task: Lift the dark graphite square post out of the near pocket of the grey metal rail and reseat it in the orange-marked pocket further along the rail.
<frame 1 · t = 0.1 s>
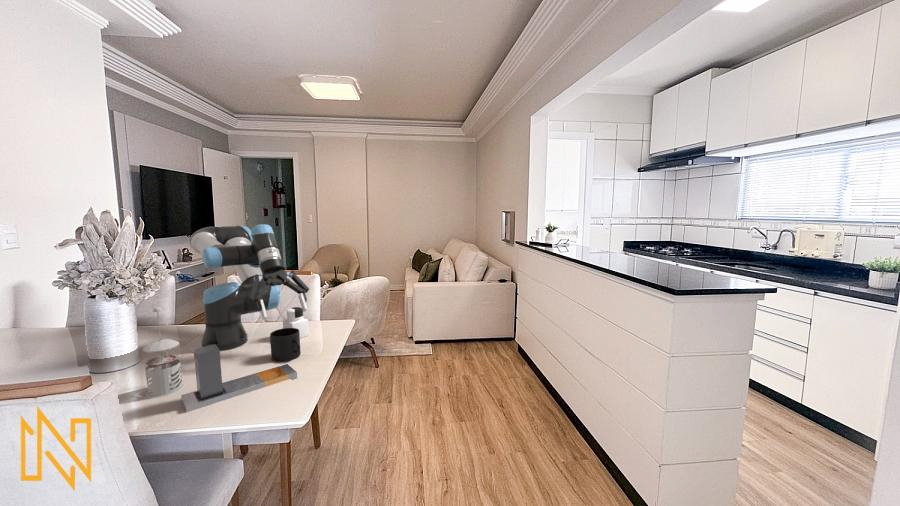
hand: (286, 314, 125), 15 cm above the table, tool tilted 35°, fingers open, 13 cm apart
graphite post: (210, 397, 98), resting on rail
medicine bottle: (296, 337, 146), on the table
french press: (167, 390, 103), on the table
rail: (243, 389, 103), on the table
mug: (288, 357, 126), on the table
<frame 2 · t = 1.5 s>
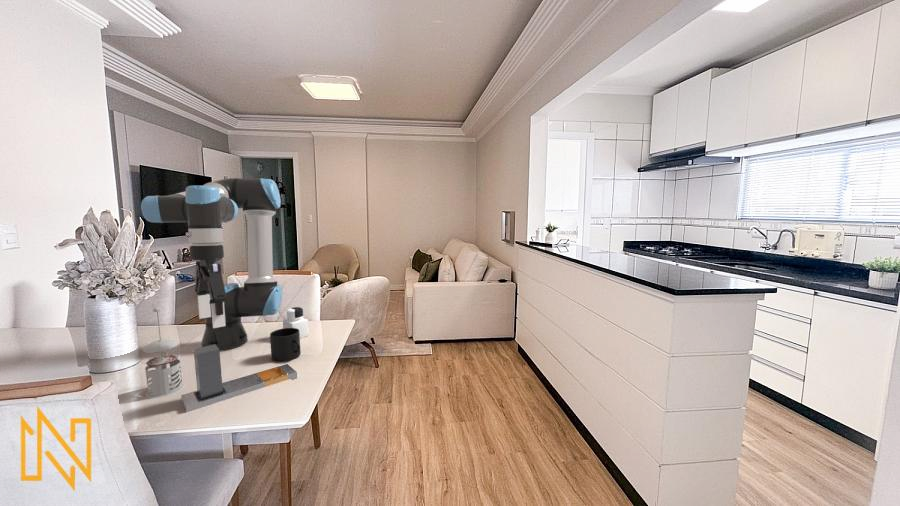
hand: (211, 322, 97), 22 cm above the table, tool pointing down, fingers open, 13 cm apart
nothing on the table moved.
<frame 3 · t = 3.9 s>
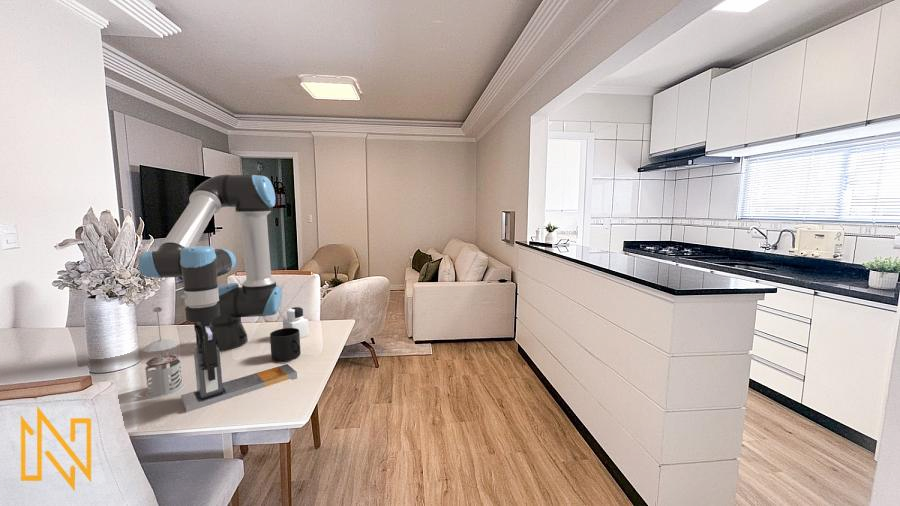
hand: (209, 386, 97), 4 cm above the table, tool pointing down, fingers closed on graphite post, 5 cm apart
graphite post: (210, 397, 98), resting on rail, touching gripper
everything else where it was.
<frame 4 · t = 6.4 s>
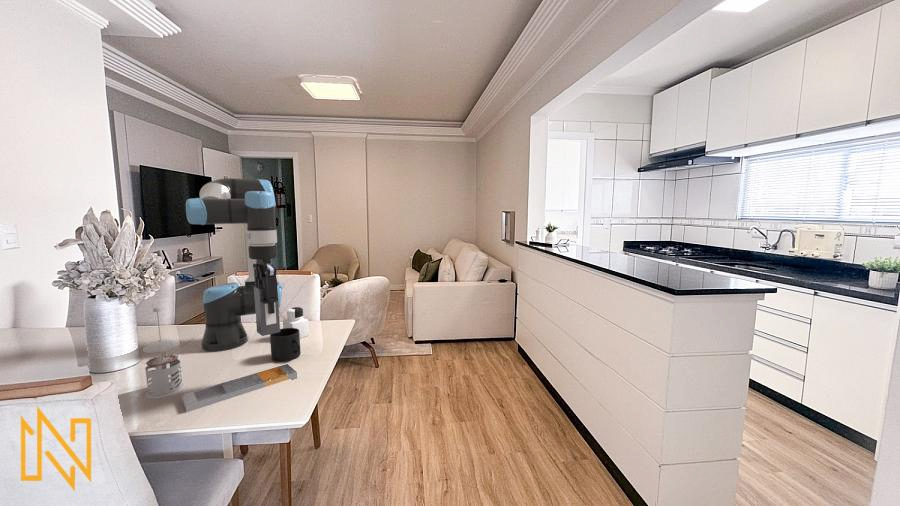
hand: (267, 321, 107), 19 cm above the table, tool pointing down, fingers closed on graphite post, 5 cm apart
graphite post: (268, 332, 107), point 15 cm above the table, touching gripper
everything else where it was.
when the fingers open (5 cm above the table, at t = 9.1 s): graphite post drops 1 cm, resting on rail.
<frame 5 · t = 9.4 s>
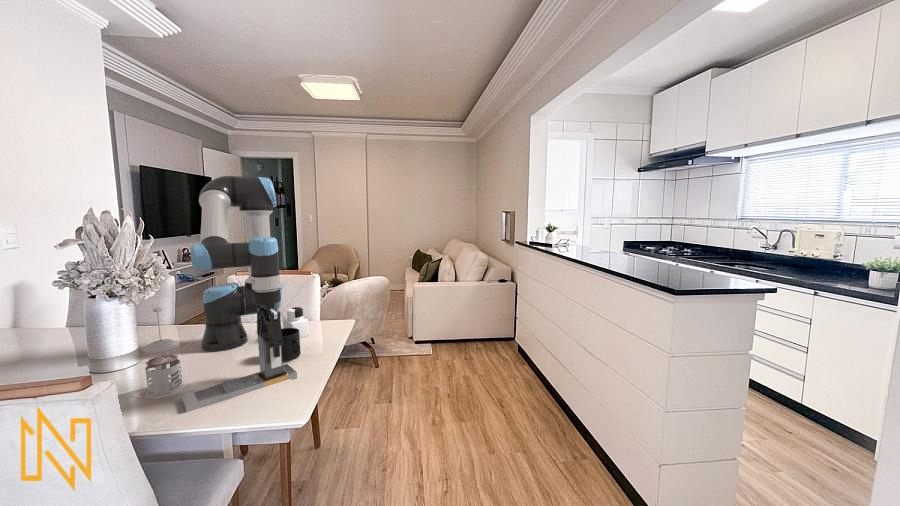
hand: (271, 361, 108), 6 cm above the table, tool pointing down, fingers open, 8 cm apart
graphite post: (272, 378, 109), point 1 cm above the table, touching rail
everything else where it was.
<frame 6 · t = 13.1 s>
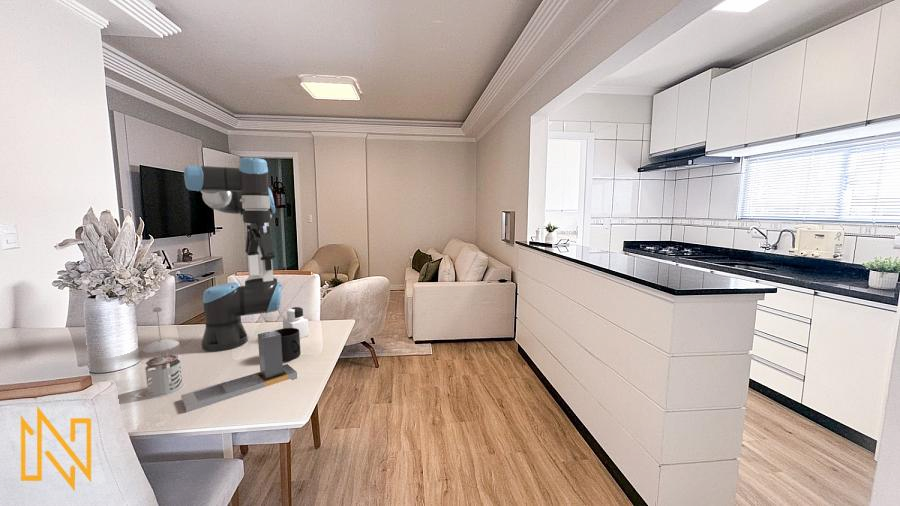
hand: (261, 277, 112), 31 cm above the table, tool pointing down, fingers open, 13 cm apart
nothing on the table moved.
at the end: graphite post 0.1 cm from the target spot on the rail, point 0.6 cm above the rail's base; graphite post tilted 0°; the gripper is holding nothing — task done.
